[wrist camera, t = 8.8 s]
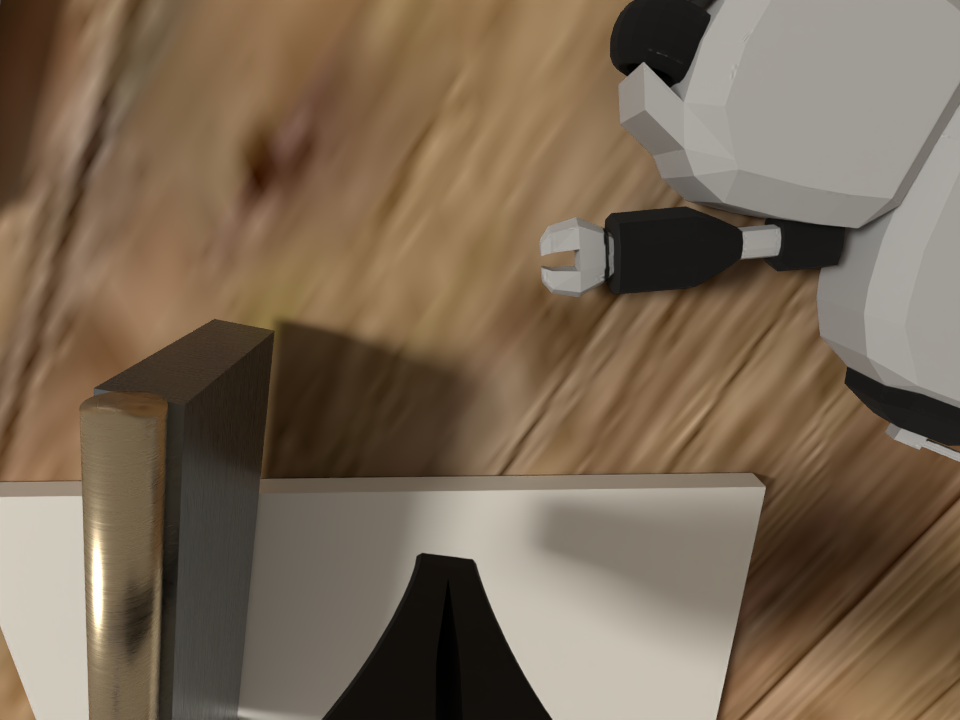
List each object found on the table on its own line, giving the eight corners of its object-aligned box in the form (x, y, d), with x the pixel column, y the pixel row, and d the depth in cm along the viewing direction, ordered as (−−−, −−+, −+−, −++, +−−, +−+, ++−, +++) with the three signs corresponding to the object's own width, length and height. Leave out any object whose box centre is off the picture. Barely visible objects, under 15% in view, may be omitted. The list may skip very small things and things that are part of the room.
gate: (274, 330, 13) (152, 431, 8) (237, 717, 18) (142, 945, 13) (214, 319, 13) (50, 413, 8) (192, 712, 18) (76, 940, 12)
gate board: (678, 836, 23) (686, 859, 22) (110, 856, 22) (97, 880, 21) (752, 472, 17) (765, 487, 16) (-25, 482, 16) (-49, 497, 15)
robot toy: (508, 279, 15) (955, 443, 16) (511, 313, 11) (1116, 533, 12) (702, -234, 12) (1263, 18, 13) (817, -480, 7) (1650, -70, 8)
